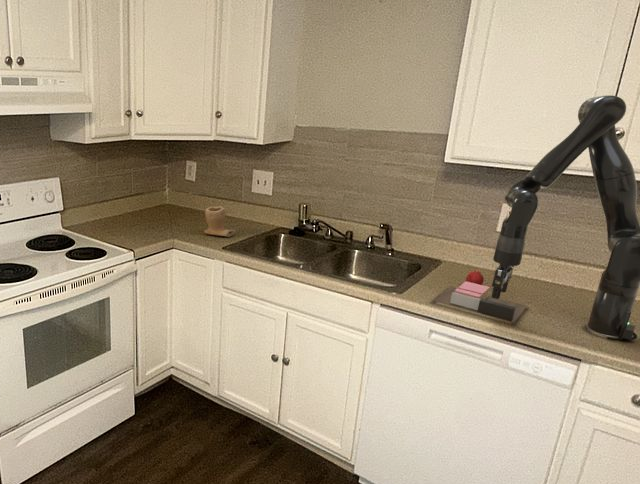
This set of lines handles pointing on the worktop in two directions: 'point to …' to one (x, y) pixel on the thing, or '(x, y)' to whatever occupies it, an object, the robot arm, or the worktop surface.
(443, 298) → the cake board
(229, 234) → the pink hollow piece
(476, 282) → the onion
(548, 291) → the worktop surface
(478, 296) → the pink and tan block
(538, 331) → the worktop surface
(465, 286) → the cake
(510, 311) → the knife
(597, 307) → the robot arm
